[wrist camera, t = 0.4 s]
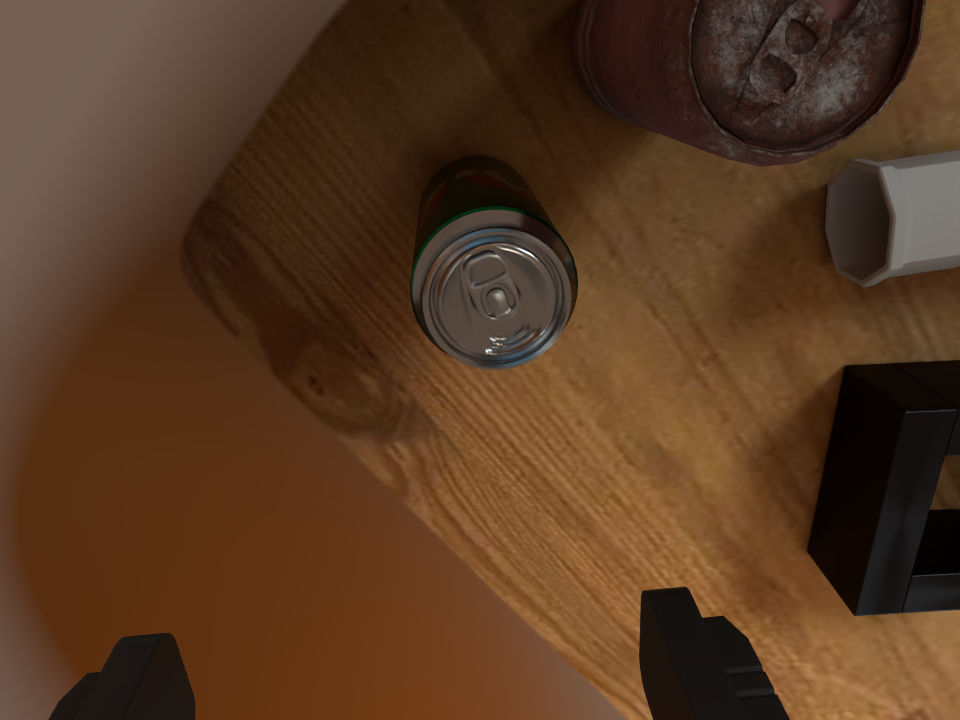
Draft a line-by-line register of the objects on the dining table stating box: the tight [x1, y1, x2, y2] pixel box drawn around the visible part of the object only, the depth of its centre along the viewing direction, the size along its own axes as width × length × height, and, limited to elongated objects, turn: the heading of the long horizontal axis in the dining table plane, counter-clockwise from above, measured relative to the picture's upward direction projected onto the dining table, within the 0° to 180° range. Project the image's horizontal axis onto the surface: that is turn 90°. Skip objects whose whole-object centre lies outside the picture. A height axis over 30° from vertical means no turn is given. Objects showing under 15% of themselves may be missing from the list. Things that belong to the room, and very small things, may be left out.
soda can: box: [410, 156, 578, 370], centre depth 26 cm, size 5×5×12 cm
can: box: [572, 0, 926, 167], centre depth 22 cm, size 6×6×14 cm
